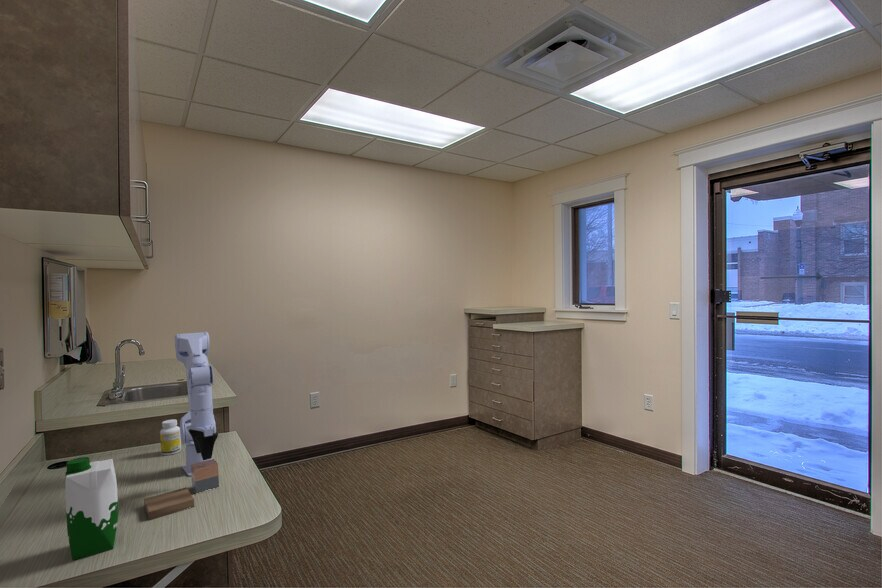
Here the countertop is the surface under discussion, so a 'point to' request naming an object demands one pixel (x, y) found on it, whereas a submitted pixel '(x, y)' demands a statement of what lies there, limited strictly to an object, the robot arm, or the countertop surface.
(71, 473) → the milk carton
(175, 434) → the supplement bottle
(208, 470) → the block
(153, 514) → the walnut stand
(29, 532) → the countertop surface
